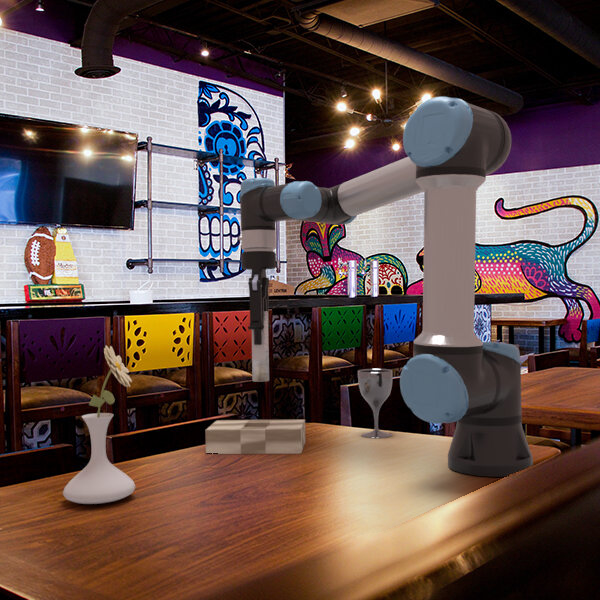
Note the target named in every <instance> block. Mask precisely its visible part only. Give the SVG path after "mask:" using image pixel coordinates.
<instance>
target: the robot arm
mask: <svg viewBox="0 0 600 600" xmlns="http://www.w3.org/2000/svg"><path fill="white" fill-rule="evenodd" d="M402 142H403V143H402V144H403V149H404V152H405V154H406V156H407V157H403V158H402V159H399V160H396V161H394V162H391V163H389V164H387V165H385V166H382V167H379V168H377V169H374V170H372V171H370V172H367V173H365V174H362V175H359V176H357V177H354V178H352V179H350V180H348V181H344V182H342V183H341V184H338V185H334V186H332V187H329V188H328V187H319V186H316V185H315V184H314V183H313V182H311V181H308V180H305V181H303V180H302V181H299V180H297V181H292V182H289V183H282V184H279V185H276V184H275V181H274V180H273V179H271V178H266V177H253V178H252V177H251V178H246V179H244V180H243V181H242V182H241V184H240V191H239V192H240V195H239V203H240V204H239V205H240V208H239V209H240V231H241V232H240V234H241V235H238V241H240V243H241V249H242V250H243V252H242V253H241V256H240V257H241V259H240V261H241V263H240V264H241V266H240V267H241V269H242V270H251V271H250V272H251V275H250V277H248V282H247V284H248V290H249V292H248V293H249V294H248V295H249V296H248V297H249V326H247V329H248V331H249V330H250V331H251V361H252V360H265V330H263V329H264V311H268V329H272V324H270V320H269V318H270V317H269V312H270V311H269V296H270V295H269V286H270V278H269V277H267V272H266V271H267V270H275V269H276V267H277V253H276V252H275V251H274V250H276V248H277V231H276V229H277V228H276V223H277V222H283V221H300V222H307V223H308V222H309V223H310V222H311V223H313V222H314V223H318V224H319V223H320V224H330V225H334V226H341V225H348V224H350V223H352V222H353V221H354V220H355V219H356V217H357V216H359V215H361V214H364V213H367V212H370V211H372V210H375V209H378V208H382V207H385V206H387V205H390V204H392V203H396V202H398V201H401V200H404V199H407V198H409V197H412V196H415V195H419V194H421V193H424V200H423V201H424V205H423V206H424V209H423V278H422V282H423V283H422V285H423V286H422V288H423V289H422V331H421V333H420V334H418V336H417V337H416V338H415V339H414V340H413V345H412V346H413V349H412V350H413V351H412V352H413V354H412V355H413V356H412V357H411V358H410V359H409V360H407V363H406V364H405V365H404V366H403V367H402V370H401V373H400V376H399V377H400V378H399V387H400V394H401V396H402V398H403V401H404V404H406V406H407V408H409V409H410V411H411V412H412V413H413V414H414V415H415V416H416V417H417V418H418V419H420V420H422V421H424V422H427V423H431V424H444V423H445V424H450V423H455V422H456V427H455V429H454V433H453V436H452V440H451V443H450V446H449V449H448V453H447V466H448V468H449V470H452V471H454V472H457V473H459V474H460V473H461V474H465V475H470V476H477V477H493V478H495V477H498V478H500V477H508V476H507V475H510V474H513V473H516V472H519V471H521V470H524V469H526V468H528V467H530V466H532V465H533V466H534V463H533V461H534V460H533V459H534V458H533V454H532V451H531V449H530V446H529V444H528V440H527V438H526V435H525V431H524V429H523V425H522V424H523V423H522V422H523V421H522V415H523V414H522V412H523V411H522V373H521V372H522V371H521V370H522V369H521V368H522V362H521V354H520V349H519V348H518V347H517V346H516V345H515V344H511V343H505V342H504V343H503V342H493V341H482V340H481V339H480V338H479V337H478V336H477V335H476V334H475V295H476V294H475V292H476V290H475V288H476V286H475V284H476V278H475V277H476V231H477V230H476V228H477V227H476V225H477V224H476V223H477V222H476V221H477V219H476V218H477V216H476V215H477V191H478V189H479V188H480V187H481V186H483V184H484V183H485V182H486V180H487V179H486V177H487V176H489V175H491V174H493V173H495V172H496V171H497V170H499V169H500V168H501V167H502V166H503V164H504V163H505V162H506V161H507V159H508V158H509V157H508V156H509V154H510V152H511V148H512V134H511V130H510V128H509V126H508V123H507V122H506V121H505V119H504V118H502V117H501V115H499V114H498V113H496V112H494V111H492V110H490V109H487V108H482V107H480V106H477V105H474V104H472V103H469V102H467V101H465V100H463V99H461V98H458V97H449V96H434V97H433V98H429V99H428V100H426V101H424V102H422V103H421V104H419V106H417V107H416V109H415V110H414V111H413V113H412V114H411V115H410V116H409V118H408V119H407V122H406V124H405V127H404V130H403V135H402Z"/></svg>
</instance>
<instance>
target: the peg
mask: <svg viewBox="0 0 600 600" xmlns="http://www.w3.org/2000/svg"><path fill="white" fill-rule="evenodd" d="M268 311H269V310H268ZM268 311H264V329H263V330H265V360H252V359H251V365H252V366H251V370H252V372H251V373H252V374H251V375H252V378H251V379H252V382H255V383H256V382H257V383H259V382H260V383H261V382H262V383H263V382H269V381H270V357H269V356H270V355H269V354H270V353H269V351H270V350H269V349H270V348H269V328H268V325H269V324H268Z"/></svg>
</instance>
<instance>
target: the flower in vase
mask: <svg viewBox="0 0 600 600" xmlns="http://www.w3.org/2000/svg"><path fill="white" fill-rule="evenodd" d="M103 353H104V358H105V360H106V363H107V365H108V366H109V368H110V369H109V371H108V372H107V375H106V377H105V380H104V381H103V384H102V387H101V392H100V396H99V397H98V395H95V394H92V397H91V399H90V401H89V403H88V406H92V407H95V408H98V409H97V412H96V413H87V414H83V415H81V418H82V419H83V421H84V423H86V426H87V428H88V432H89V435H90V444H91V450H90V451H91V455H90V460H89V462H88V463H87V465H85V467H84V468H82V470H81V471H80V472H78V473H77V474H76V475H75V476H74V477H73V478H72V479H71V480H70V481H68V483H67V484H66V485H65V487H64V489H63V492H62V495H63V496H64V498H65V499H66V500H67V501H70V502H72V503H76V504H83V505H93V504H94V505H97V504H99V505H100V504H106V503H111V502H116V501H119V500H121V499H124V498H126V497H128V496H130V495H132V494H133V492H134V490H135V489H136V484H135V482H134V480H133V479H132V478H131V477H130V476H128V475H127V474H126V473H125V472H124V471H122V470H121V469H119V468H117V467H116V465H114V464H112V463H111V461H110V460H109V459H108V456H107V452H106V451H107V448H106V445H107V444H106V442H107V441H106V440H107V439H106V438H107V432H108V427H109V425H110V422H111V420H112V418H113V417H114V413H111V412H101V407H102V405H104V403H105V402H106V403H107V404H108V405H113V404H114V403H115V400H116V399H115V397H114V394H113V393H112V392H111V391H109V390H105V387H106V385H107V382H108V379H109V377H110V376H111V374H112V375H114V377H115V379H117V381H118V382H119V384H120V385H123V386H124V387H126V388H128V387H130V388H131V384H130V383H133V380H132V379H131V377H130V375H129V373H130V370H129V369H128V368H127V367H125V364H124V363H123V361H122V357H121V356H120V355H116V353H115V351H114V348H113V346H112V345H110V346H109V347H108V345H105V347H103Z"/></svg>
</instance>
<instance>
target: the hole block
mask: <svg viewBox="0 0 600 600" xmlns="http://www.w3.org/2000/svg"><path fill="white" fill-rule="evenodd" d="M204 431H205V433H204V434H205V454H206V453H212V454H211V455H214V454H213V453H218V454H217V455H239V454H240V455H246V454H247V455H248V454H250V455H251V454H252V455H256V454H257V455H261V454H262V455H263V454H264V455H267V454H270V455H271V454H272V455H273V454H274V455H275V454H279V455H280V454H281V455H282V454H283V455H284V454H285V455H286V454H302V452H303V449H304V448H305V444H306V419H304V418H303V419H300V418H299V419H297V418H296V419H294V418H293V419H220V420H219V419H218V420H215V421H214V422H213V423H211V424H210V426H208V427H207V428H206V429H205V430H204Z"/></svg>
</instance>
